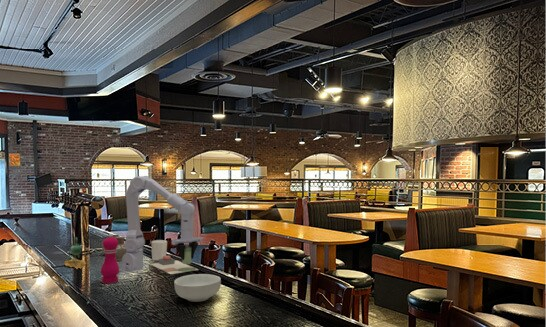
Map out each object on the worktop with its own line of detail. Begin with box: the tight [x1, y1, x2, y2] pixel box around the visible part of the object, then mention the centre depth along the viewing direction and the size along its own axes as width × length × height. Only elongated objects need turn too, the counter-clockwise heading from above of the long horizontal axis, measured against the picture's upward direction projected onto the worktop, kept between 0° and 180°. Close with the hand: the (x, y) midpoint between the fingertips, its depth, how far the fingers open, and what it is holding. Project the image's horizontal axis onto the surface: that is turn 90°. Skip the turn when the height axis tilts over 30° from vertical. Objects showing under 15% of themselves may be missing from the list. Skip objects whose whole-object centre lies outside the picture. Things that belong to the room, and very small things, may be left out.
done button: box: [163, 255, 171, 261], centre depth 202 cm, size 4×4×2 cm
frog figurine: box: [64, 236, 87, 270], centre depth 200 cm, size 10×18×15 cm, turn 36°
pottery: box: [101, 234, 127, 262], centre depth 219 cm, size 11×25×12 cm, turn 35°
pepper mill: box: [100, 233, 120, 284], centre depth 172 cm, size 7×7×20 cm
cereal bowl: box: [173, 273, 222, 303], centre depth 151 cm, size 17×17×7 cm
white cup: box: [150, 239, 168, 261], centre depth 212 cm, size 8×8×10 cm
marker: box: [182, 245, 192, 265], centre depth 190 cm, size 4×4×8 cm
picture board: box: [150, 257, 199, 275], centre depth 195 cm, size 24×14×3 cm, turn 38°
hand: (186, 258), depth 190 cm, fingers closed on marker, 4 cm apart
